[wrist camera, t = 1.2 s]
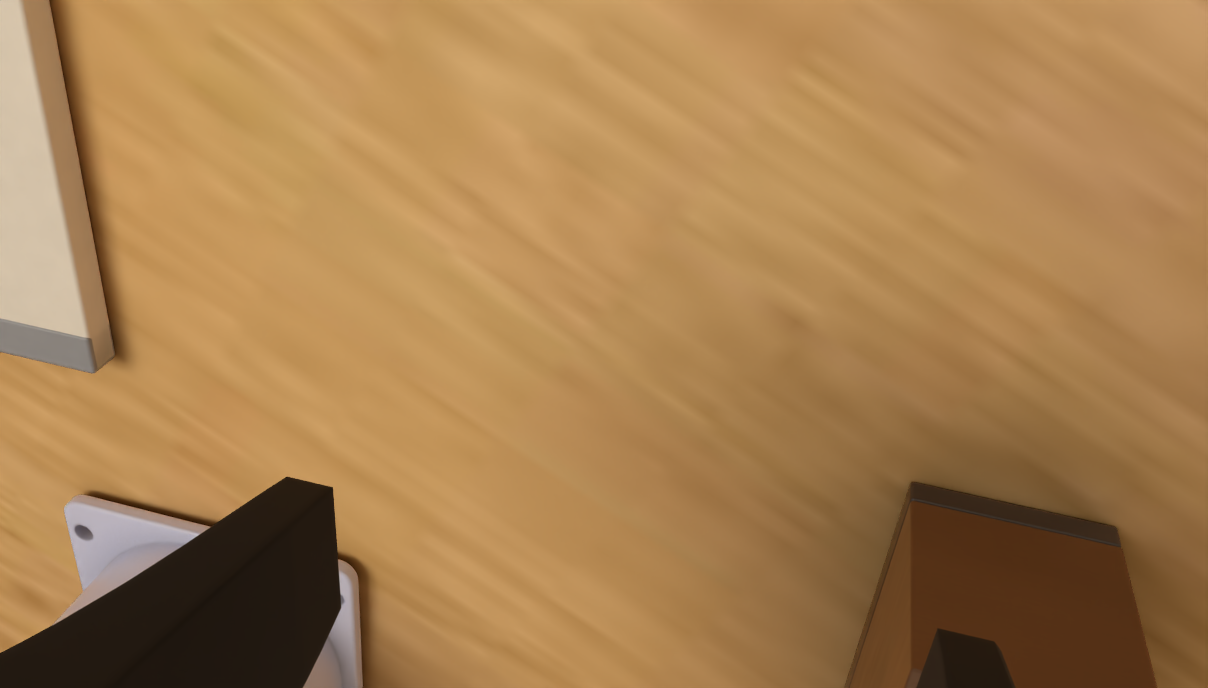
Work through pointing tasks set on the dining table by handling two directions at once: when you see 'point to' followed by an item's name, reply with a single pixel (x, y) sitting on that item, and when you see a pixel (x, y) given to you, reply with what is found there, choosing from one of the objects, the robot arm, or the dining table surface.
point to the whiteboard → (44, 206)
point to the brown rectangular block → (1003, 595)
